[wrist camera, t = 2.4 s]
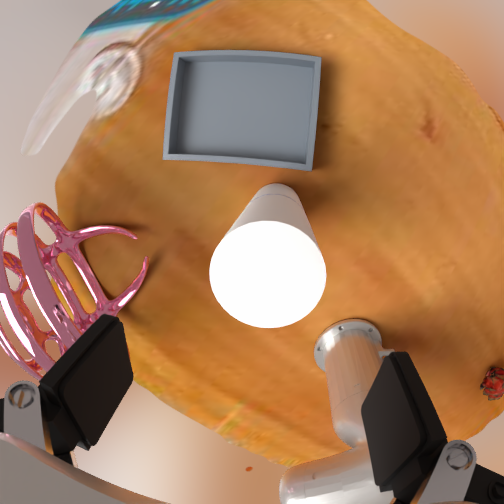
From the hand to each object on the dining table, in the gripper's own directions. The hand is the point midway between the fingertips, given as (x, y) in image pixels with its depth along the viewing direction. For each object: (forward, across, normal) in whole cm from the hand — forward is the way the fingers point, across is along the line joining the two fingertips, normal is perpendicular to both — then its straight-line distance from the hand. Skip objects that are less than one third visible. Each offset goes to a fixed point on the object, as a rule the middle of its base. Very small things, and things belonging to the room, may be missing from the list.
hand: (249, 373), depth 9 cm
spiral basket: (+34, +30, +14) cm, 47 cm away
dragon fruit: (+33, -62, +34) cm, 78 cm away
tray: (+34, +6, -14) cm, 37 cm away
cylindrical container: (+34, 0, 0) cm, 34 cm away
